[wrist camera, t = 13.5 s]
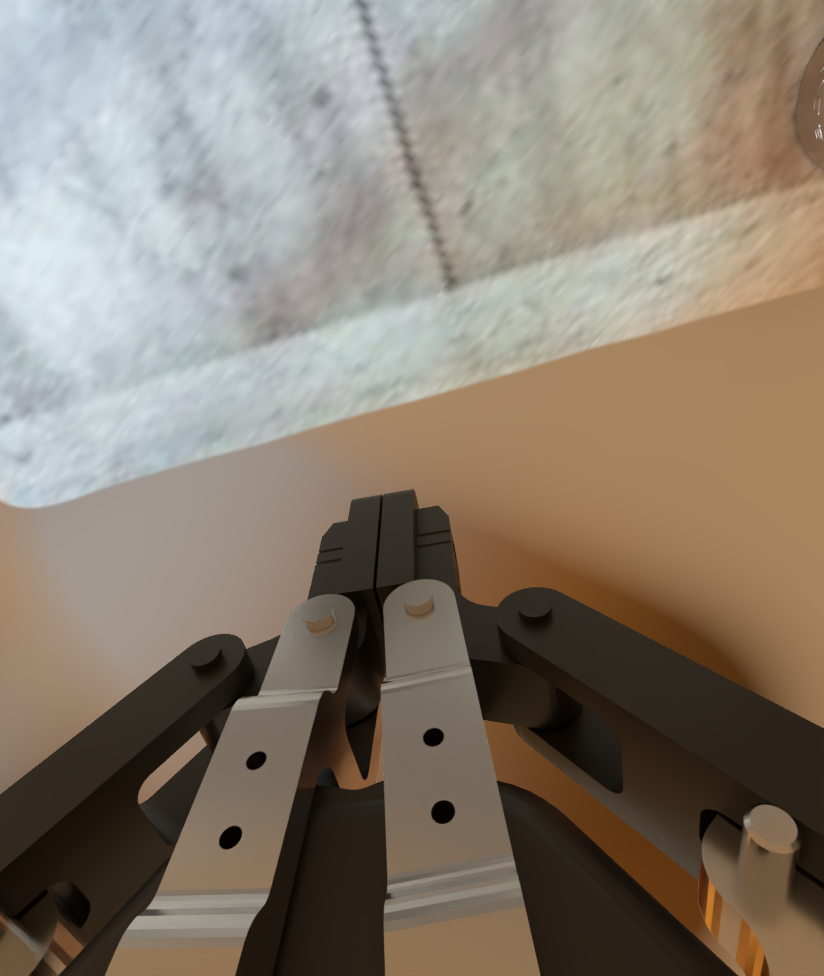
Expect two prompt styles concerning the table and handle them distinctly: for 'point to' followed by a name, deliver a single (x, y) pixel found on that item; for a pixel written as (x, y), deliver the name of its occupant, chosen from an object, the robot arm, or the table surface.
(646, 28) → the table surface
